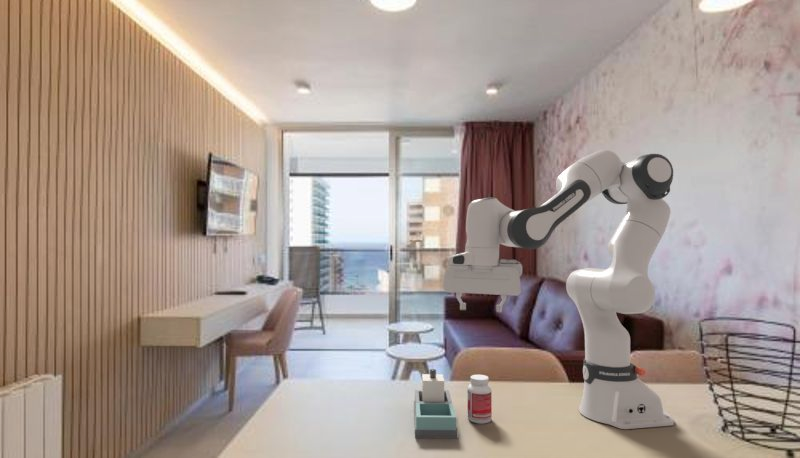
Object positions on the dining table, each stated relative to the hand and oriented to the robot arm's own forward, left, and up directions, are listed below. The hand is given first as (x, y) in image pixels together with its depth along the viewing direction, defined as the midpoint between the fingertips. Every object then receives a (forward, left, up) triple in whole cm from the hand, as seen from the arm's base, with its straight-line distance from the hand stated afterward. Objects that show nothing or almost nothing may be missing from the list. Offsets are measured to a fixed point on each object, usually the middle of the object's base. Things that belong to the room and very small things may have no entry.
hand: (480, 310), depth 117 cm
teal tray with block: (+12, +3, -28) cm, 31 cm away
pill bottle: (0, +1, -28) cm, 28 cm away
